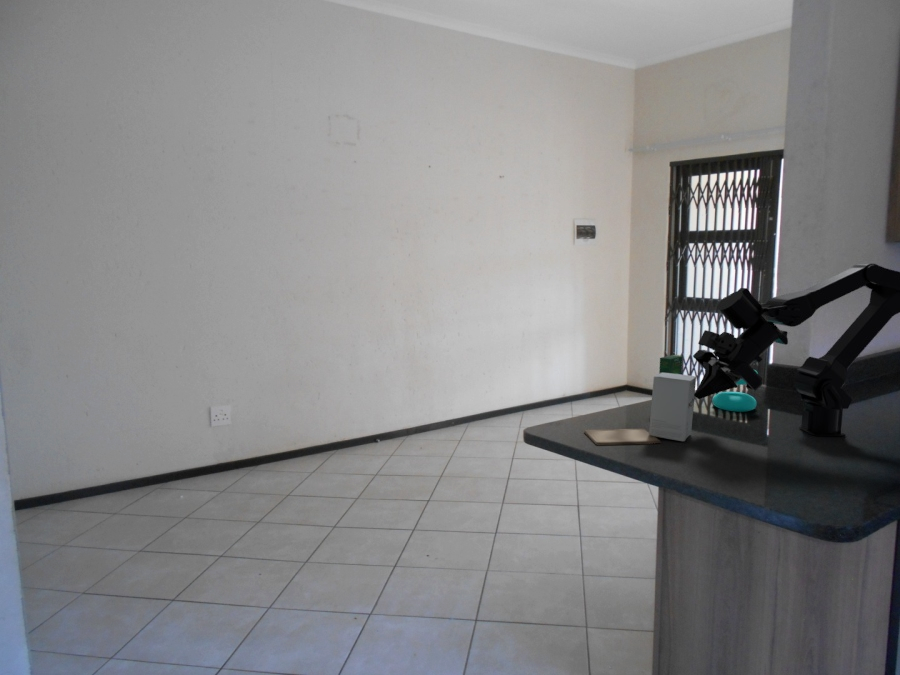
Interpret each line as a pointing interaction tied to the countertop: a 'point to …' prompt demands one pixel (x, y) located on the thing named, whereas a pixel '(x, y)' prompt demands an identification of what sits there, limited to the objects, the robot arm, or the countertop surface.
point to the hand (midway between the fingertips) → (696, 397)
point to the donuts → (735, 400)
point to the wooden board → (621, 436)
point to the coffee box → (671, 364)
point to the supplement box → (672, 406)
